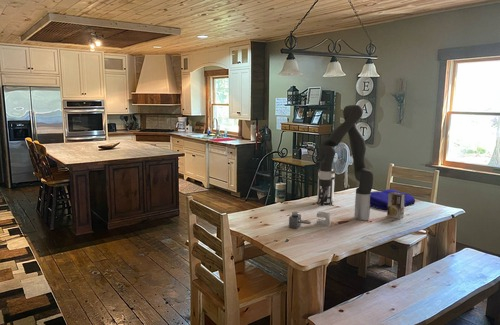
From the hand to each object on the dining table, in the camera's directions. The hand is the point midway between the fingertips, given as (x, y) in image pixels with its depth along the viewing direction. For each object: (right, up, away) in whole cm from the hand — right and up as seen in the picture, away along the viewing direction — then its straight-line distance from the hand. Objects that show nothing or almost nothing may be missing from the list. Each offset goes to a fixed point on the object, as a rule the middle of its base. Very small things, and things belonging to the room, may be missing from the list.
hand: (323, 203), depth 233 cm
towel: (+59, -6, +53) cm, 79 cm away
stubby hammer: (-15, -14, -4) cm, 21 cm away
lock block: (0, -14, +2) cm, 14 cm away
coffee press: (+11, -6, +50) cm, 52 cm away
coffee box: (+52, -11, +20) cm, 57 cm away
